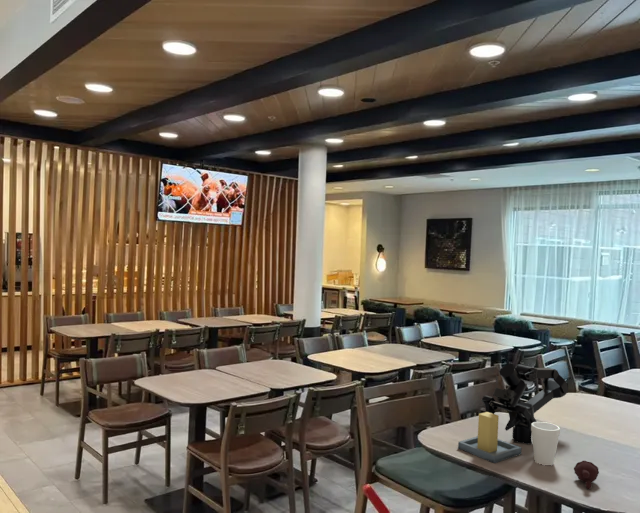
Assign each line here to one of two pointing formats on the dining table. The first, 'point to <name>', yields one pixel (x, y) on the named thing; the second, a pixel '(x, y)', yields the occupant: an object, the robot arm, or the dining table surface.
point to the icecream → (586, 472)
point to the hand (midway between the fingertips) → (495, 426)
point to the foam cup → (545, 442)
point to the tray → (502, 453)
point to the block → (487, 432)
